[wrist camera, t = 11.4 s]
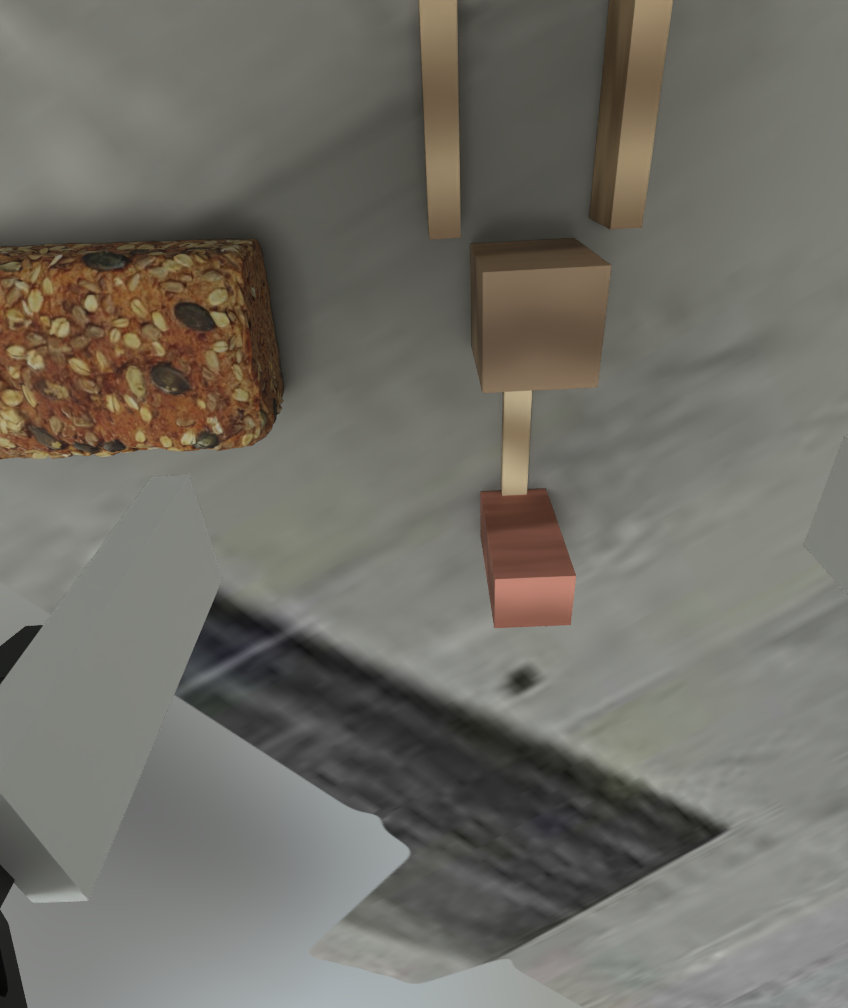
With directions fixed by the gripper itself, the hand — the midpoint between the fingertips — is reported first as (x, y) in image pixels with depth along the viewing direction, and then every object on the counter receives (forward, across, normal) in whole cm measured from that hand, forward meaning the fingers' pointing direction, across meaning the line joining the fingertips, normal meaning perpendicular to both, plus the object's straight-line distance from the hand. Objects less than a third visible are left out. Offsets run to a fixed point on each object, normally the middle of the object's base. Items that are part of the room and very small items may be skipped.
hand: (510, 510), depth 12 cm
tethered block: (+27, +4, -10) cm, 29 cm away
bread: (+27, -20, -3) cm, 34 cm away
